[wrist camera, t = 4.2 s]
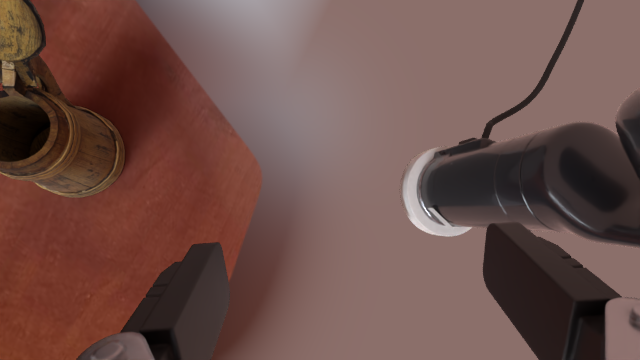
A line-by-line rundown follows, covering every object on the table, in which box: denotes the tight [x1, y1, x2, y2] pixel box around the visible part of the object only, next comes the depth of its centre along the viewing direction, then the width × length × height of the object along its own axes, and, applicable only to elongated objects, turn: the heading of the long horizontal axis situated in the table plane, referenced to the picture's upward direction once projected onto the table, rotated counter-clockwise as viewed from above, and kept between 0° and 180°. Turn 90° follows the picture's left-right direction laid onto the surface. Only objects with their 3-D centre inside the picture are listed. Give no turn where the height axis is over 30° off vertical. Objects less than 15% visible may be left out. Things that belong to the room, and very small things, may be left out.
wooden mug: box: [0, 0, 125, 197], centre depth 28 cm, size 9×14×18 cm, turn 179°
